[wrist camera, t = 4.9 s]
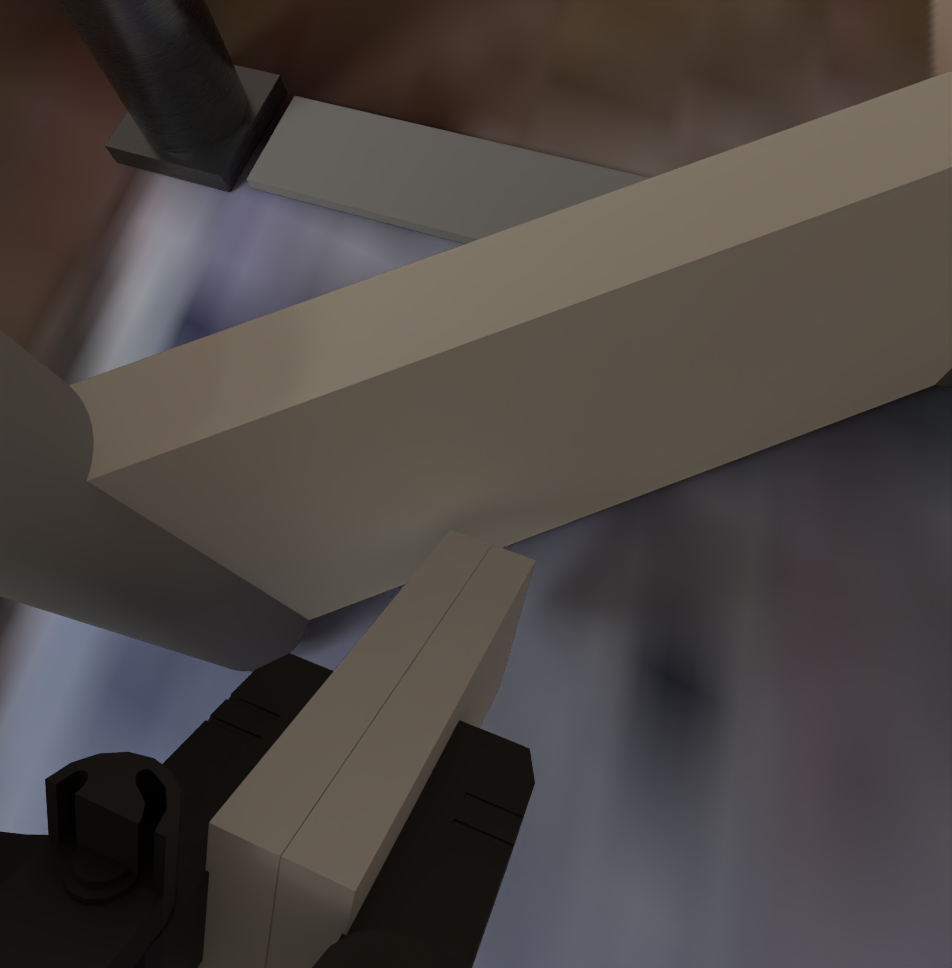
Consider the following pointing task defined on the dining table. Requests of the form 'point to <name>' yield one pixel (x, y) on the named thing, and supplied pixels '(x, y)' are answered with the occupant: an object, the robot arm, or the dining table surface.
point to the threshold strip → (419, 173)
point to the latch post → (177, 88)
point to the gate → (485, 388)
